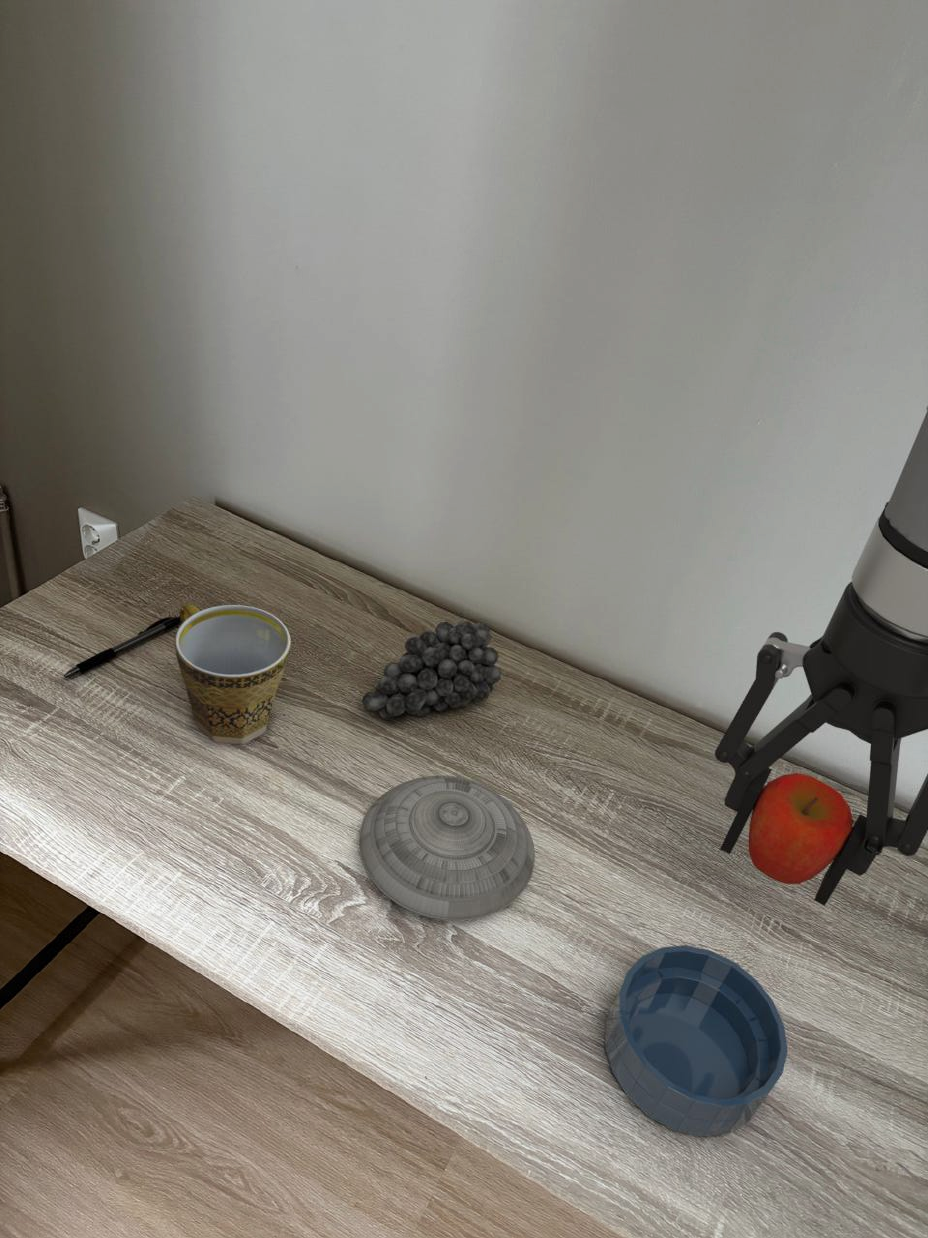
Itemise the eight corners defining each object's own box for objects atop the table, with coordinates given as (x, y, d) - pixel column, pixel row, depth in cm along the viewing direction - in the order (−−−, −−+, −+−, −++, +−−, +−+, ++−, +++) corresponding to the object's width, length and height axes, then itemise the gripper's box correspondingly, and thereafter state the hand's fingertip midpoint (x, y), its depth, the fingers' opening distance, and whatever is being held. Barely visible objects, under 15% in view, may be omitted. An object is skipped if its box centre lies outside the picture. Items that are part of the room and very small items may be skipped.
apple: (738, 896, 67) (775, 824, 62) (726, 827, 72) (759, 755, 67) (828, 911, 67) (871, 840, 62) (809, 840, 72) (848, 770, 67)
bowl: (797, 1096, 71) (822, 1062, 68) (669, 1170, 66) (690, 1136, 63) (694, 961, 79) (712, 924, 76) (572, 1017, 74) (587, 980, 71)
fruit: (378, 667, 88) (514, 623, 95) (337, 638, 94) (467, 599, 101) (387, 751, 91) (517, 702, 98) (346, 717, 98) (471, 674, 105)
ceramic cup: (308, 726, 93) (313, 646, 87) (220, 775, 87) (219, 693, 81) (226, 655, 100) (226, 575, 93) (138, 696, 93) (132, 613, 87)
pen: (178, 615, 103) (178, 607, 102) (188, 623, 102) (188, 615, 102) (58, 675, 94) (57, 666, 93) (69, 684, 93) (67, 675, 92)
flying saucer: (414, 764, 92) (421, 722, 88) (559, 838, 87) (572, 797, 84) (322, 873, 81) (326, 829, 77) (481, 964, 76) (493, 922, 73)
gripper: (1099, 648, 55) (923, 901, 69) (773, 515, 61) (673, 770, 75) (1089, 719, 49) (900, 977, 63) (733, 565, 56) (633, 829, 70)
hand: (777, 864), depth 69 cm, fingers closed on apple, 6 cm apart
